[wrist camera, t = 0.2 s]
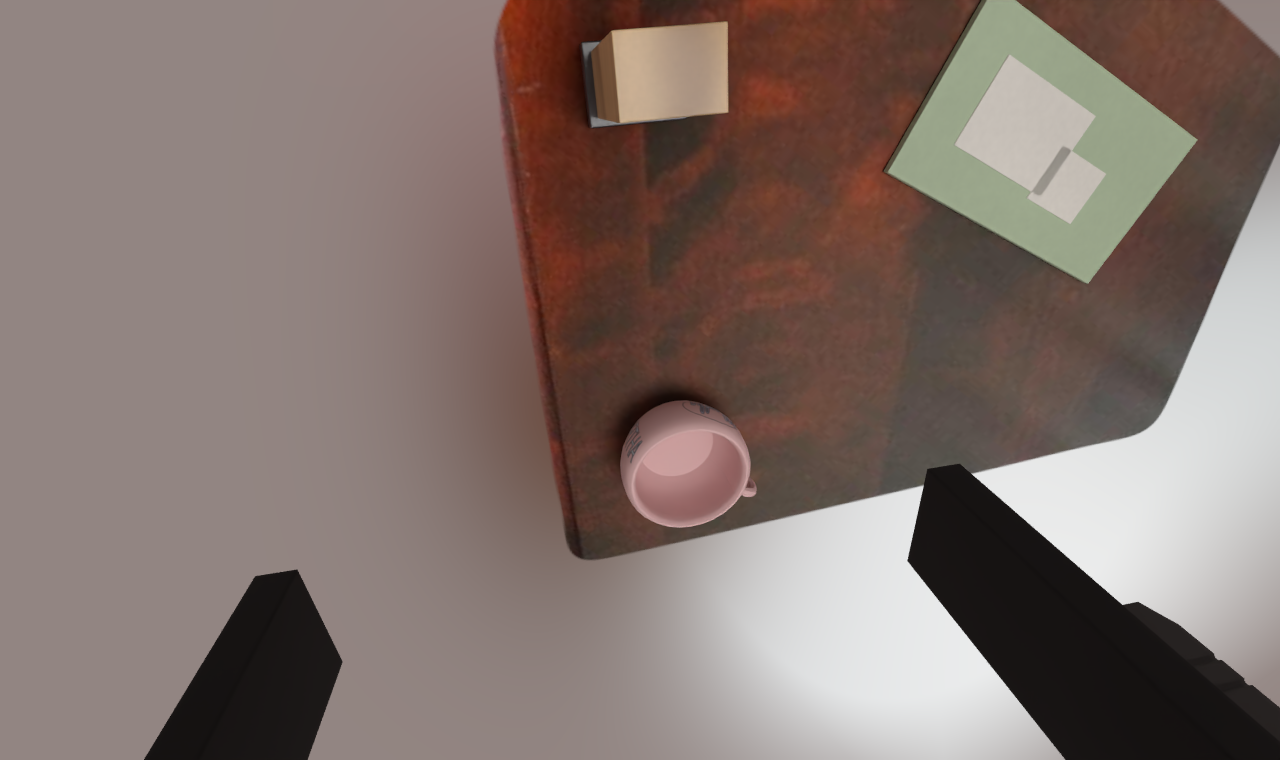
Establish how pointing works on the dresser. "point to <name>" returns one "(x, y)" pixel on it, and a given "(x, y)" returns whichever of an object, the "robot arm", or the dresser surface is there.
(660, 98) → the eraser
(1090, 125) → the chalk board
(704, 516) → the mug
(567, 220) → the dresser surface
